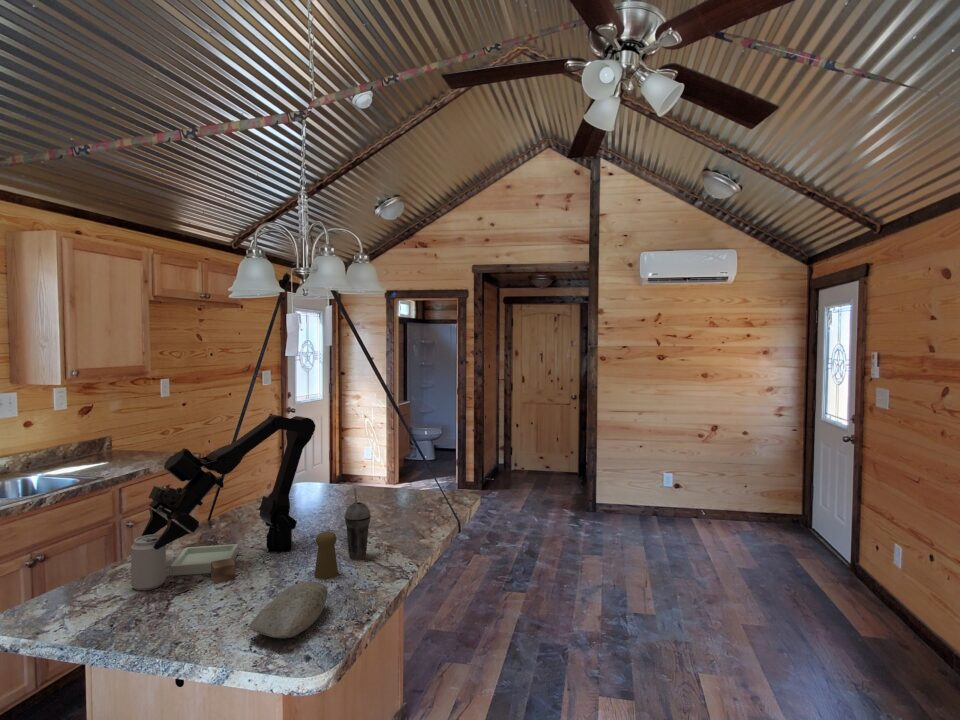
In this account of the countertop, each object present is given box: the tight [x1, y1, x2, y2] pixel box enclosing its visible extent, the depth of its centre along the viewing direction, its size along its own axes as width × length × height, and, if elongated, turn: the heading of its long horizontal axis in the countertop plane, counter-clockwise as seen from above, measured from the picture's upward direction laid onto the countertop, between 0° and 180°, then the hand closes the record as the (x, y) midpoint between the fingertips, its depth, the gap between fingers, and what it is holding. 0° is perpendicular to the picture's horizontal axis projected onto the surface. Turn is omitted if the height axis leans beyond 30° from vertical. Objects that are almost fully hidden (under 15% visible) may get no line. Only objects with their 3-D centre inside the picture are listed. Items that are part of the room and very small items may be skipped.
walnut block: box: [210, 558, 236, 584], centre depth 146 cm, size 5×5×4 cm
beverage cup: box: [344, 487, 372, 561], centre depth 160 cm, size 7×7×20 cm
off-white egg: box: [166, 549, 175, 569], centre depth 153 cm, size 5×5×4 cm
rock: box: [248, 581, 329, 639], centre depth 121 cm, size 8×11×20 cm
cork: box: [313, 531, 339, 580], centre depth 148 cm, size 6×6×11 cm
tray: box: [169, 543, 239, 577], centre depth 155 cm, size 14×14×2 cm
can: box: [130, 533, 167, 591], centre depth 141 cm, size 8×8×12 cm
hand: (148, 544), depth 141 cm, fingers open, 9 cm apart
